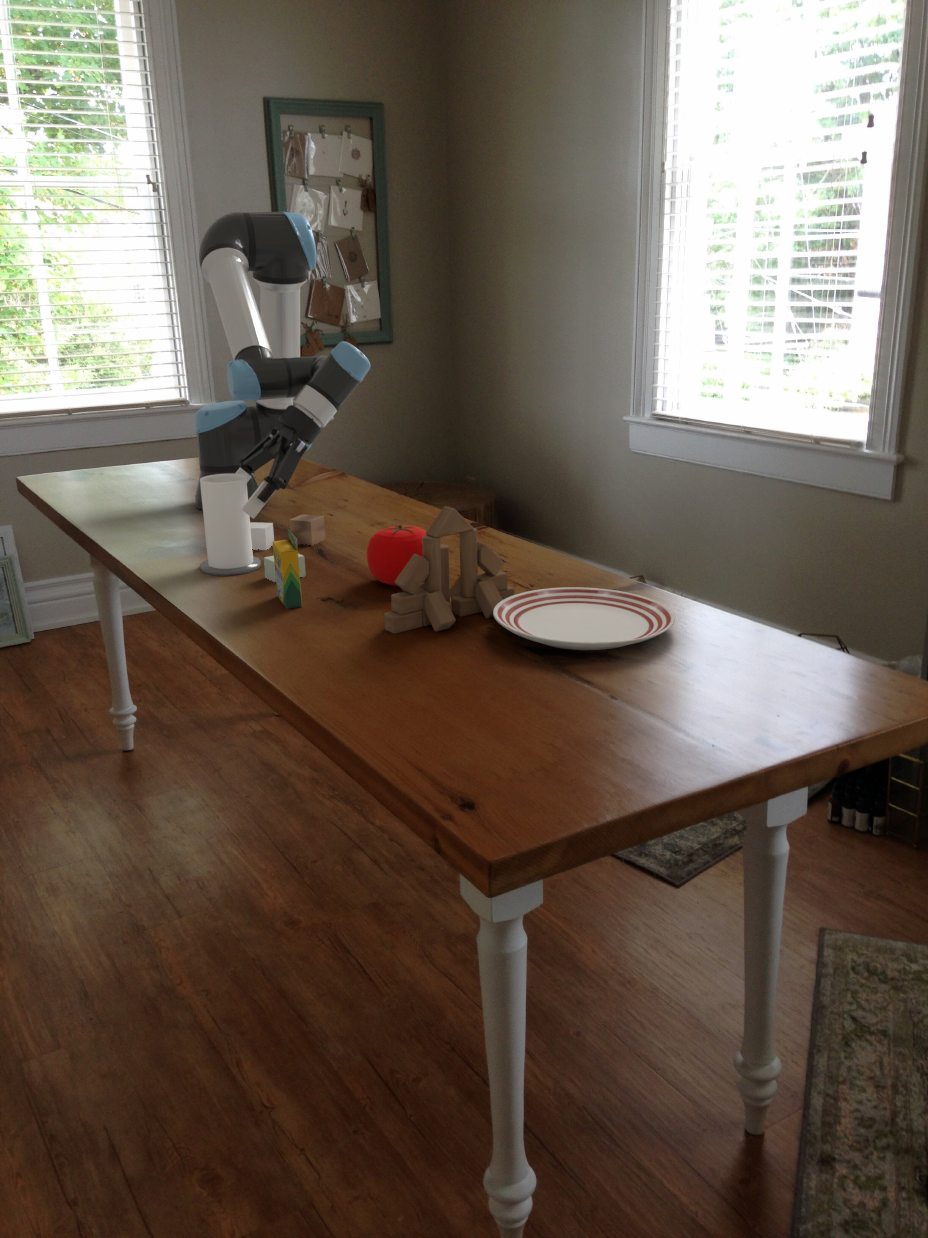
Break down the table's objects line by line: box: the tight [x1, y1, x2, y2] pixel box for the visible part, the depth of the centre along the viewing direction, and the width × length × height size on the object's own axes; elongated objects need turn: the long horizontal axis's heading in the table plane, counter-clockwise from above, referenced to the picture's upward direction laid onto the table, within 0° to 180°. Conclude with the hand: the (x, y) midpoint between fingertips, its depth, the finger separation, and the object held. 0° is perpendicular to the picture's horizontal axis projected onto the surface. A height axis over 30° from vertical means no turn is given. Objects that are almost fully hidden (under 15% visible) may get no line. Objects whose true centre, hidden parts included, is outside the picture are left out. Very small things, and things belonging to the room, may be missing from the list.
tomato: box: [366, 524, 427, 587], centre depth 182 cm, size 12×12×10 cm
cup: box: [200, 474, 254, 569], centre depth 191 cm, size 8×8×16 cm
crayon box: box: [272, 528, 303, 610], centre depth 172 cm, size 7×3×12 cm, turn 21°
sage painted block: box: [263, 553, 307, 583], centre depth 187 cm, size 4×6×4 cm, turn 129°
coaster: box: [199, 555, 262, 577], centre depth 194 cm, size 11×11×1 cm
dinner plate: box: [493, 586, 676, 651], centre depth 159 cm, size 28×27×3 cm
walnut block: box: [289, 513, 326, 547], centre depth 210 cm, size 5×5×5 cm
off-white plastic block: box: [250, 521, 275, 551], centre depth 207 cm, size 4×4×4 cm
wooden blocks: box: [383, 505, 515, 635], centre depth 164 cm, size 25×12×18 cm, turn 126°
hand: (235, 506), depth 191 cm, fingers open, 13 cm apart
